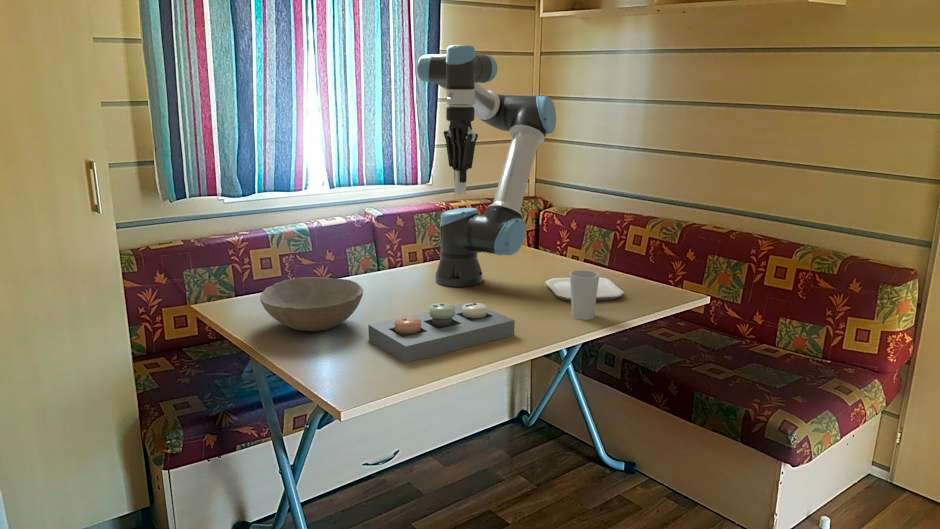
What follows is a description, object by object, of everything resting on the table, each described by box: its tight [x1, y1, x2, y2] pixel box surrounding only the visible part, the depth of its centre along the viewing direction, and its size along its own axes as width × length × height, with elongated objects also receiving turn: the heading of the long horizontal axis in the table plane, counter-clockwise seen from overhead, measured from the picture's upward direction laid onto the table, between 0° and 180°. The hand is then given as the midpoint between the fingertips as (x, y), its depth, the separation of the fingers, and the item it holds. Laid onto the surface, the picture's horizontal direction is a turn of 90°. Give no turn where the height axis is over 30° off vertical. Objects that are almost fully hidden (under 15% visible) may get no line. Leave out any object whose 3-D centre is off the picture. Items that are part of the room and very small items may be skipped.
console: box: [367, 301, 516, 363], centre depth 183 cm, size 18×32×4 cm, turn 126°
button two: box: [428, 302, 456, 329], centre depth 182 cm, size 6×6×5 cm
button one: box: [395, 316, 421, 337], centre depth 177 cm, size 6×6×5 cm
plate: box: [545, 276, 625, 302], centre depth 222 cm, size 21×21×2 cm
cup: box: [569, 269, 600, 321], centre depth 199 cm, size 8×8×12 cm
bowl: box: [259, 276, 364, 332], centre depth 189 cm, size 26×26×10 cm
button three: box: [462, 302, 488, 321], centre depth 188 cm, size 6×6×5 cm
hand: (460, 193), depth 199 cm, fingers closed
